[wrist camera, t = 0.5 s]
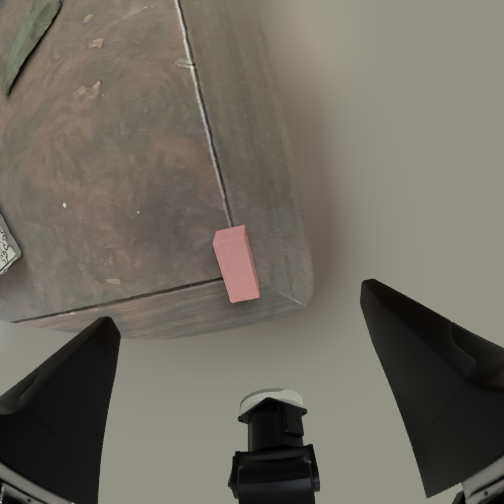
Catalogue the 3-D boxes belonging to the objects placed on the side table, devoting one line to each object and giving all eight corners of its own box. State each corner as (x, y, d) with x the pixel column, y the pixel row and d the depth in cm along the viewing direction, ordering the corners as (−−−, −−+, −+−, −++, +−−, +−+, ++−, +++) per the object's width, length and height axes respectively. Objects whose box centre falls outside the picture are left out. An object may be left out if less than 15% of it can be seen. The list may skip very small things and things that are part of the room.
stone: (7, 99, 13) (-14, 87, 12) (17, 98, 15) (-4, 86, 13) (63, -7, 9) (36, -11, 8) (71, -3, 10) (45, -8, 9)
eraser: (258, 281, 22) (259, 297, 20) (232, 286, 22) (230, 303, 20) (244, 224, 20) (244, 236, 18) (216, 230, 20) (212, 243, 18)
